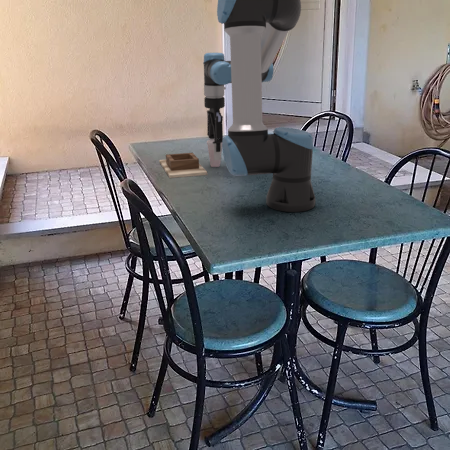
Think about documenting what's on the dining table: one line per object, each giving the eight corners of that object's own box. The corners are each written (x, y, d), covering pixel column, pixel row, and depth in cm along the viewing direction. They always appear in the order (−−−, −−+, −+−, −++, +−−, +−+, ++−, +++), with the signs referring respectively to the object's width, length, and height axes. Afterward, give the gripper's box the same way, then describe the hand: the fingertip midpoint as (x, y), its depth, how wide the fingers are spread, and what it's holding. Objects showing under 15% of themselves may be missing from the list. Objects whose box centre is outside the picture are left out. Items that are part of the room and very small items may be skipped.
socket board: (207, 174, 194) (207, 162, 192) (169, 178, 190) (169, 165, 188) (193, 159, 213) (193, 148, 211) (159, 162, 210) (158, 151, 208)
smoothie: (224, 163, 208) (224, 128, 202) (222, 168, 202) (222, 131, 196) (208, 163, 208) (207, 128, 203) (206, 167, 202) (205, 131, 197)
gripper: (231, 100, 187) (231, 163, 196) (217, 92, 204) (217, 150, 213) (211, 101, 185) (212, 164, 194) (198, 93, 203) (199, 152, 211)
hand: (215, 157), depth 204 cm, fingers closed on smoothie, 6 cm apart
